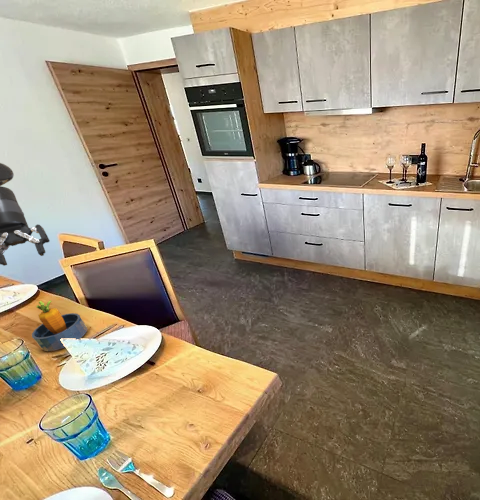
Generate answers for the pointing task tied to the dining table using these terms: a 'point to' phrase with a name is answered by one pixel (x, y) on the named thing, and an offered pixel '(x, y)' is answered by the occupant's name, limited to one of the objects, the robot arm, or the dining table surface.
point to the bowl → (52, 341)
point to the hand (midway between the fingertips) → (23, 259)
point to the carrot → (51, 318)
